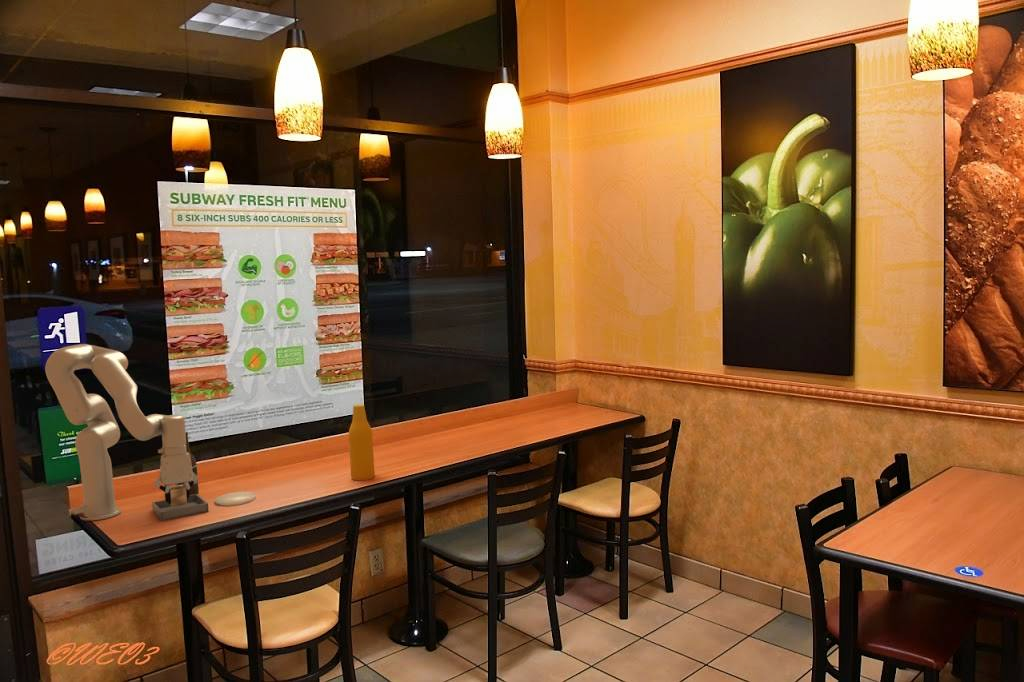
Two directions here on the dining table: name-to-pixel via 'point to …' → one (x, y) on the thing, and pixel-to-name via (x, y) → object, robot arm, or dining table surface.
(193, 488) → the beer bottle
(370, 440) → the beer bottle
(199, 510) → the gray bin
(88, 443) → the robot arm
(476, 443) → the dining table surface
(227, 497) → the off-white plate
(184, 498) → the birch block
